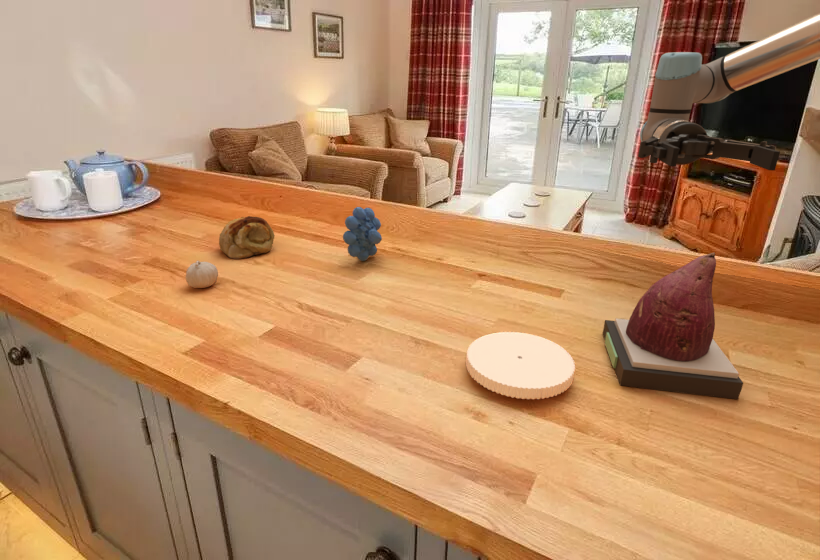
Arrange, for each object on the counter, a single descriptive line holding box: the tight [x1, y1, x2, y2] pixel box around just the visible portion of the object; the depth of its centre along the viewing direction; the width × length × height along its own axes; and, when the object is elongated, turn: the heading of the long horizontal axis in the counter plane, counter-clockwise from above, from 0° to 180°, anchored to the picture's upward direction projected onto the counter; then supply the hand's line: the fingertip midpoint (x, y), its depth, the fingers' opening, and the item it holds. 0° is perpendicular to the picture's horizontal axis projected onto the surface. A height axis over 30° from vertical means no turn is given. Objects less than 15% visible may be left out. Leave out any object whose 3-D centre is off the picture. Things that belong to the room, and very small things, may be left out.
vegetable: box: [626, 252, 717, 362], centre depth 65 cm, size 10×10×15 cm
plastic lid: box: [465, 331, 576, 400], centre depth 65 cm, size 14×14×2 cm
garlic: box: [185, 260, 219, 289], centre depth 90 cm, size 6×5×5 cm
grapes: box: [342, 206, 383, 262], centre depth 101 cm, size 12×7×12 cm, turn 147°
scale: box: [602, 318, 744, 400], centre depth 68 cm, size 14×14×3 cm
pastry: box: [218, 215, 275, 260], centre depth 109 cm, size 14×12×8 cm
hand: (724, 159), depth 73 cm, fingers open, 13 cm apart
